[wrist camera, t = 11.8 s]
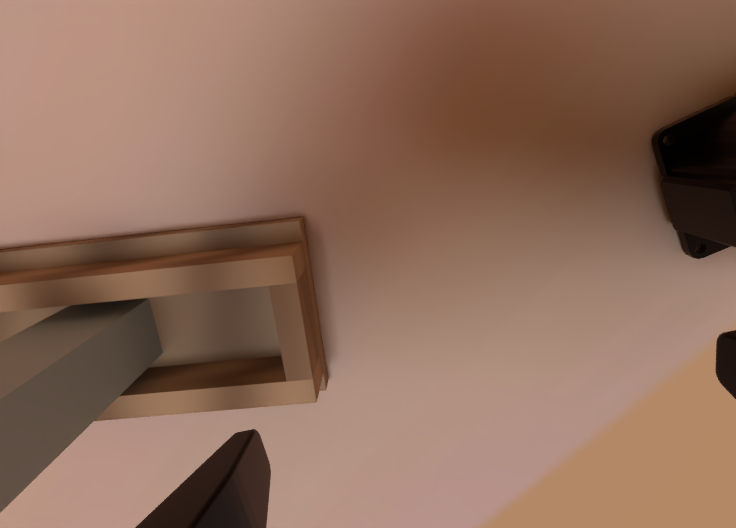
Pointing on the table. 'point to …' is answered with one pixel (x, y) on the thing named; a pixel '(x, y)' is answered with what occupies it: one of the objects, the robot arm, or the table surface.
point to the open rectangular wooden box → (190, 311)
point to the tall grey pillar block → (66, 381)
